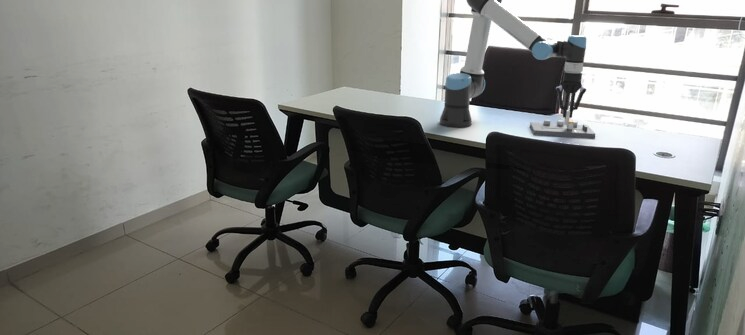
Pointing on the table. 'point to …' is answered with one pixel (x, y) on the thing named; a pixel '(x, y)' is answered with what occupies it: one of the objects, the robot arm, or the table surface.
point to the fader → (570, 124)
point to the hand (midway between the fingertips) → (566, 124)
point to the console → (561, 129)
